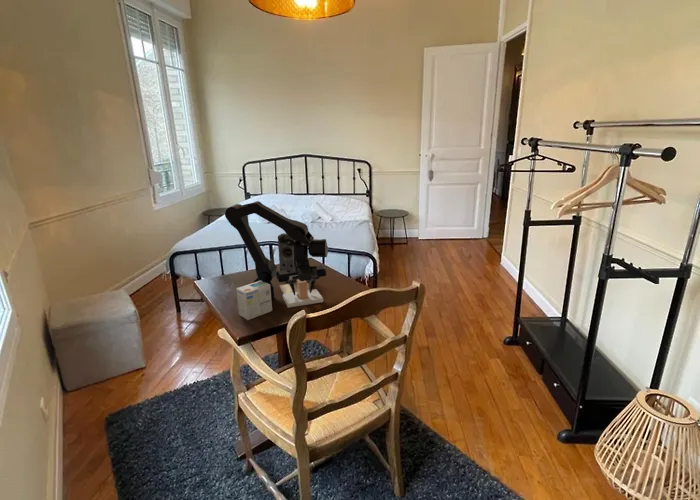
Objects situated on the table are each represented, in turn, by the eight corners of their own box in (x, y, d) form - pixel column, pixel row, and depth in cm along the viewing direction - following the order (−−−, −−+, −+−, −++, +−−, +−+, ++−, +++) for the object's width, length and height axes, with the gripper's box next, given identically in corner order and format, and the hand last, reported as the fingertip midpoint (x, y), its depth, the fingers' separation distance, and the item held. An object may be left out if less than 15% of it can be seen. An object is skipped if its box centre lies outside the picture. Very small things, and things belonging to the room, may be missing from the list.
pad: (284, 295, 157) (284, 293, 156) (279, 286, 166) (279, 285, 165) (312, 291, 161) (312, 289, 160) (306, 282, 170) (306, 281, 169)
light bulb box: (262, 305, 147) (260, 279, 144) (273, 311, 143) (271, 284, 140) (237, 315, 140) (235, 287, 137) (248, 320, 136) (245, 292, 132)
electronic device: (279, 278, 175) (276, 236, 169) (284, 274, 180) (282, 232, 174) (297, 280, 172) (295, 237, 166) (303, 276, 177) (301, 234, 172)
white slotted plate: (287, 307, 145) (287, 304, 145) (282, 297, 154) (282, 294, 154) (323, 301, 150) (323, 298, 150) (316, 292, 159) (316, 289, 159)
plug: (300, 302, 150) (299, 283, 148) (297, 298, 154) (296, 279, 151) (307, 301, 151) (307, 282, 148) (305, 297, 155) (304, 278, 152)
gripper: (280, 265, 137) (282, 305, 141) (330, 259, 143) (331, 298, 147) (274, 256, 147) (277, 294, 151) (321, 251, 153) (322, 287, 157)
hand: (302, 293), depth 152 cm, fingers open, 6 cm apart
